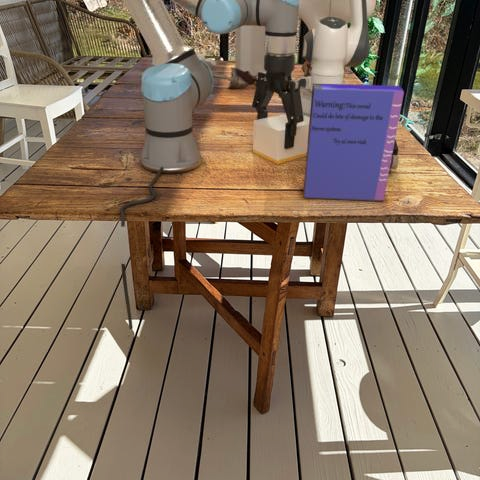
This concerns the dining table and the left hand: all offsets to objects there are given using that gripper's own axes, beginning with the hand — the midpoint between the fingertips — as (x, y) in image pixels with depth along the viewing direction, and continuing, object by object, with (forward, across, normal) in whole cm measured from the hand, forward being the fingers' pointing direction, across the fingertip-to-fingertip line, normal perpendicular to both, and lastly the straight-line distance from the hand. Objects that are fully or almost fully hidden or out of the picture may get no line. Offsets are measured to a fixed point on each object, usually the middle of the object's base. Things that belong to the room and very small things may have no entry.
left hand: (275, 141), depth 127 cm
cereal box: (+4, -28, +3) cm, 29 cm away
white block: (+4, +85, -59) cm, 104 cm away
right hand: (+1, 0, -17) cm, 17 cm away
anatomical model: (+4, +61, -72) cm, 95 cm away
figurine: (+4, +63, -39) cm, 74 cm away
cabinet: (+4, 0, -4) cm, 5 cm away
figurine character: (+4, -22, -17) cm, 28 cm away
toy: (+4, +112, -39) cm, 119 cm away
